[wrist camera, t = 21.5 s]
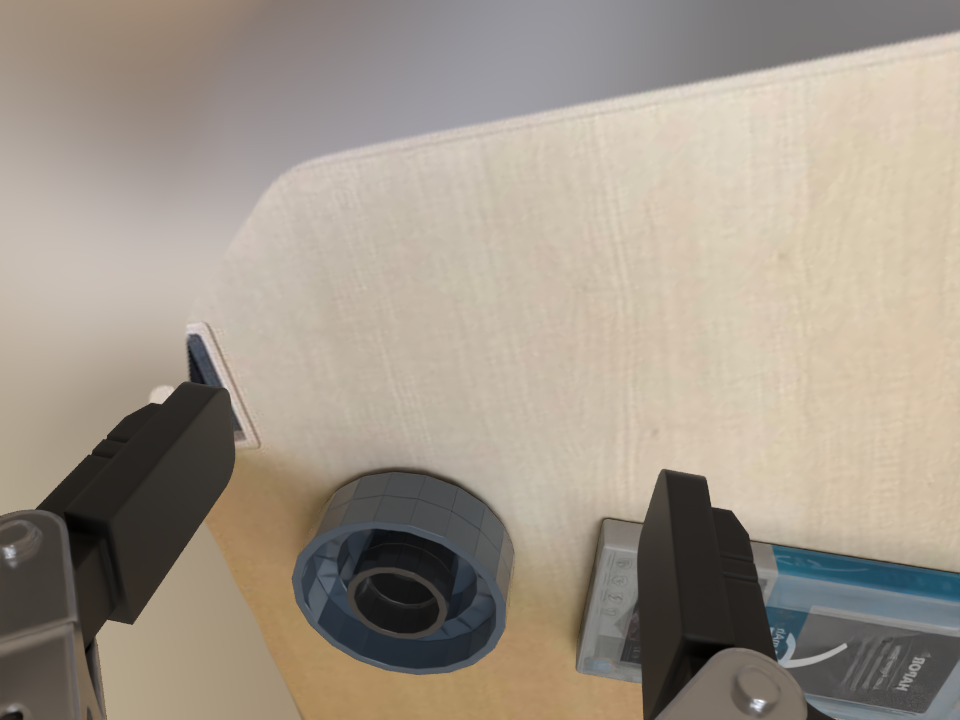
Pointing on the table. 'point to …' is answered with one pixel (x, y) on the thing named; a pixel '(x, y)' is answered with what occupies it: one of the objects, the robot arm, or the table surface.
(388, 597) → the black cup
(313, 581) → the grey bowl
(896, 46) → the table surface
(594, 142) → the table surface
